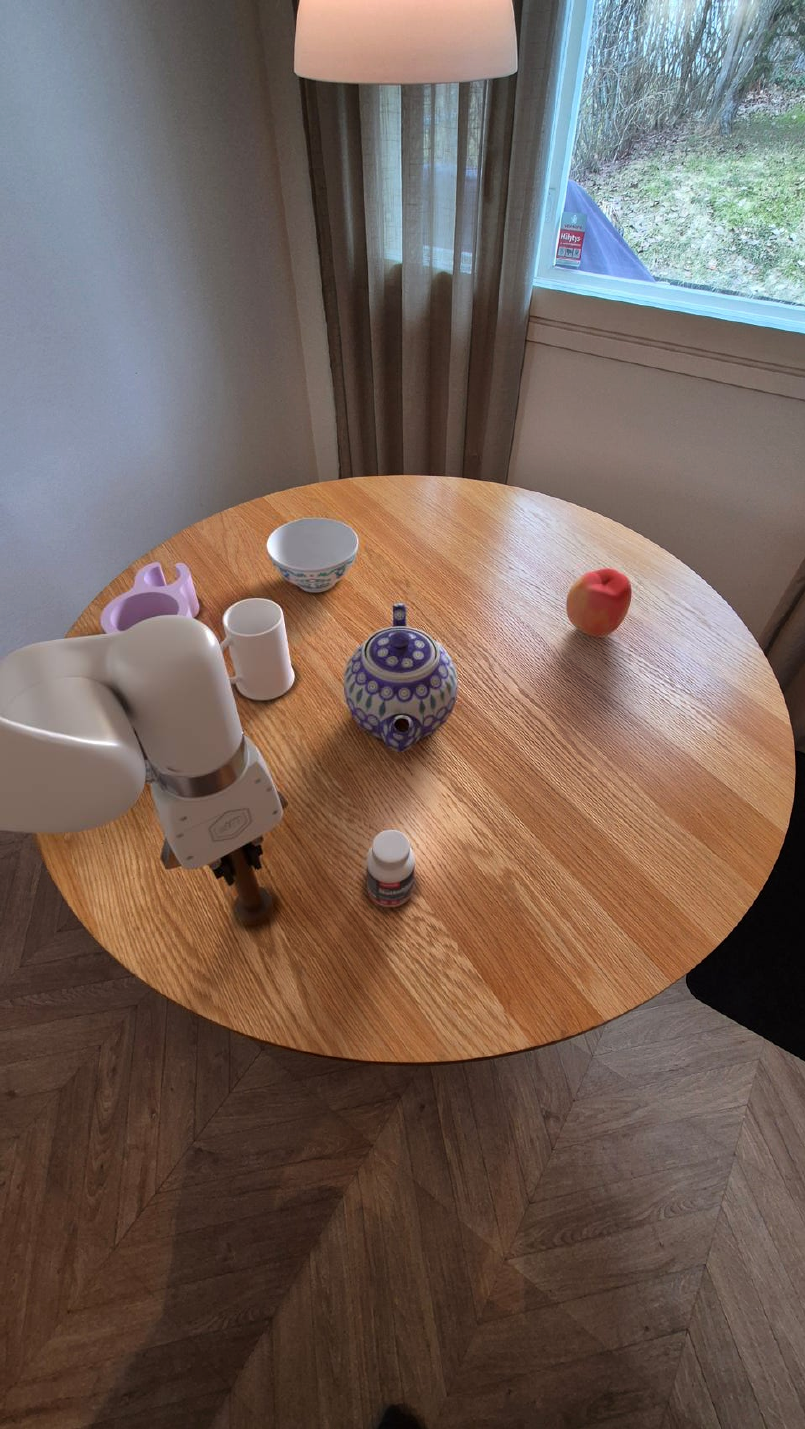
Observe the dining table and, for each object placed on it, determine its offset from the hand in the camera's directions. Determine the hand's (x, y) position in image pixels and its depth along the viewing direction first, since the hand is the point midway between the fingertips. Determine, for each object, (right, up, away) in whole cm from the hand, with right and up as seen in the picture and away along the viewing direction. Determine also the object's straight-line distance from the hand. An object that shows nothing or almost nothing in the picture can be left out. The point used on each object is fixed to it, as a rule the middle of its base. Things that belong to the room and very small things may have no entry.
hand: (239, 865), depth 67 cm
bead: (-19, +14, +22) cm, 32 cm away
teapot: (+16, +15, +26) cm, 34 cm away
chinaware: (+2, +38, +47) cm, 61 cm away
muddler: (0, -6, +6) cm, 8 cm away
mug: (-5, +20, +30) cm, 36 cm away
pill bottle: (+15, -4, +8) cm, 18 cm away
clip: (-21, +28, +37) cm, 51 cm away
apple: (+47, +29, +39) cm, 68 cm away
